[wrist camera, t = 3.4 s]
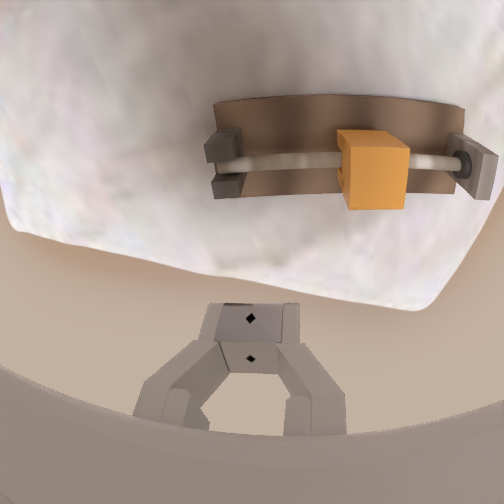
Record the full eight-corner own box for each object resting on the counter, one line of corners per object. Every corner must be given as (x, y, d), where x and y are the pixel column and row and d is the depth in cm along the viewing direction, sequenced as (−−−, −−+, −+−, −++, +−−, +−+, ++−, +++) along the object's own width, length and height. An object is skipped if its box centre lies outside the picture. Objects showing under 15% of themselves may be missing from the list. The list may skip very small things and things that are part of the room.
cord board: (231, 191, 28) (216, 233, 22) (217, 102, 23) (192, 118, 17) (447, 187, 25) (482, 225, 19) (457, 106, 20) (502, 126, 14)
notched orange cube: (337, 180, 22) (348, 209, 18) (336, 128, 20) (350, 146, 16) (383, 180, 22) (403, 209, 18) (385, 129, 19) (410, 148, 15)
